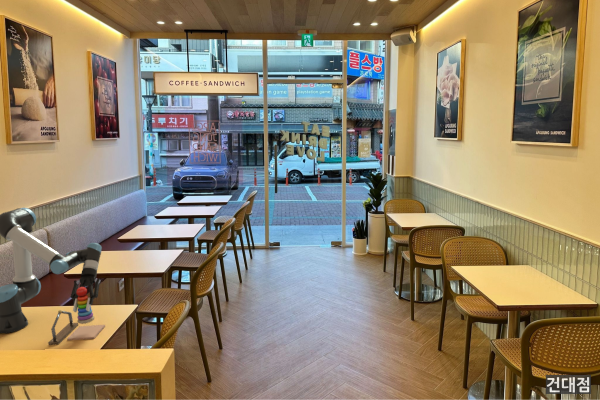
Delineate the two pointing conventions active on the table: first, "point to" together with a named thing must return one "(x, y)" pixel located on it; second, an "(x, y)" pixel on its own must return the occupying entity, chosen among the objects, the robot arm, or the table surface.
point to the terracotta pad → (86, 332)
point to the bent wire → (65, 331)
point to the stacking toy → (83, 307)
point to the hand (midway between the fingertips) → (81, 310)
